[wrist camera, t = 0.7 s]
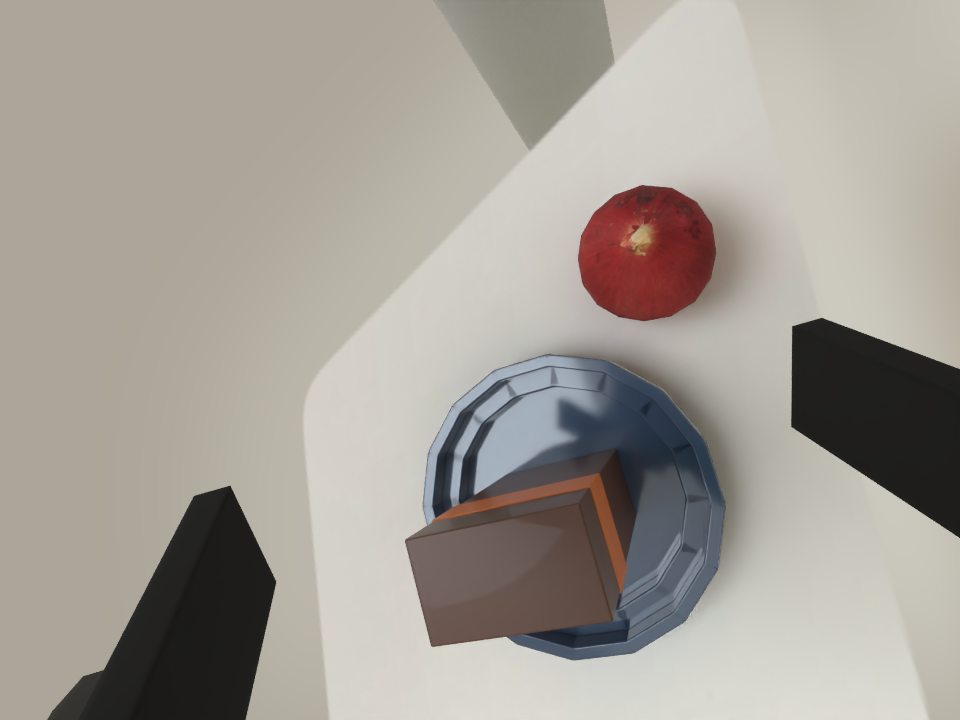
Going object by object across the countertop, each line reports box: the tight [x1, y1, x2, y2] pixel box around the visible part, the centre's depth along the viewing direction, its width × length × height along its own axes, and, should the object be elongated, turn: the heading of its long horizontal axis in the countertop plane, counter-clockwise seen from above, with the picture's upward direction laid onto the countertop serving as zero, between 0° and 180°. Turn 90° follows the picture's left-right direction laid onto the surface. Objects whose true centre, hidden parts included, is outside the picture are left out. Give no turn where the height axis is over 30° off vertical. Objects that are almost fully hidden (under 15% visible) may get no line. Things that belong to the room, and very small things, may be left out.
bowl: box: [423, 354, 726, 660], centre depth 27 cm, size 14×14×3 cm
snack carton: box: [405, 449, 636, 647], centre depth 23 cm, size 4×6×12 cm, turn 106°
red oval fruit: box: [578, 185, 716, 321], centre depth 24 cm, size 6×6×8 cm
